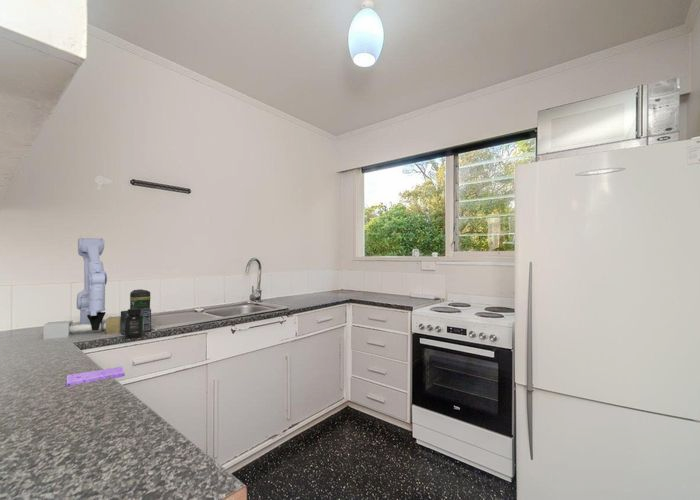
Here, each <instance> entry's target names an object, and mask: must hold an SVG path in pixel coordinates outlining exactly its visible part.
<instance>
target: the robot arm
mask: <svg viewBox="0 0 700 500" xmlns="http://www.w3.org/2000/svg"><path fill="white" fill-rule="evenodd" d="M104 249H105V240H104V238H89V237H79V238H78V240H77V253H78V256H80V257H82V258H83V272H84V273H83V276H84V277H83V279H84V280H83V283H84V285H83V287H84V289H83V290H81V291H80V292H78V293H77V294H76V295H77V296H76V302H75V303H76V309H77V310H79V314H80V315H79V325H81V324H91V327H92V330H93V331H92V332H95V330H96V331H100V330H99V327H100V323H101V322H103V319H104V317H105V315H106V285H107V283H108V275H107V272H106V271H105V268H104V263H103V262H102V260H100V256H102V254H103V252H104Z"/></svg>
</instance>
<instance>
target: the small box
mask: <svg viewBox="0 0 700 500" xmlns="http://www.w3.org/2000/svg"><path fill="white" fill-rule="evenodd" d="M127 313H128V309H127V310H121V311H120V316H121V331H120V335H122V336H125V317H126V316H127V315H128V314H127ZM141 314H142V315H143V316H144V333H150V332H152V308H150V309H147V308H144V309H141Z"/></svg>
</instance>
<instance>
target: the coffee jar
mask: <svg viewBox="0 0 700 500" xmlns="http://www.w3.org/2000/svg"><path fill="white" fill-rule="evenodd" d="M129 301H130V302H129V309H132V308H141V309H144V308H147V309H151V291H149V290H147V289H146V290H145V289H134V290H132V291H131V292H130V293H129Z"/></svg>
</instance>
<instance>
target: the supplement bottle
mask: <svg viewBox="0 0 700 500" xmlns="http://www.w3.org/2000/svg"><path fill="white" fill-rule="evenodd" d="M127 310H128V313H127V314H128V315H127V316H126V317H125V335H124V338H125V339H138V338H142V337H143V336H144V333H145V332H144V316H143V315H142V314H141V308H132V309H130V308H128V309H127Z"/></svg>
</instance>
